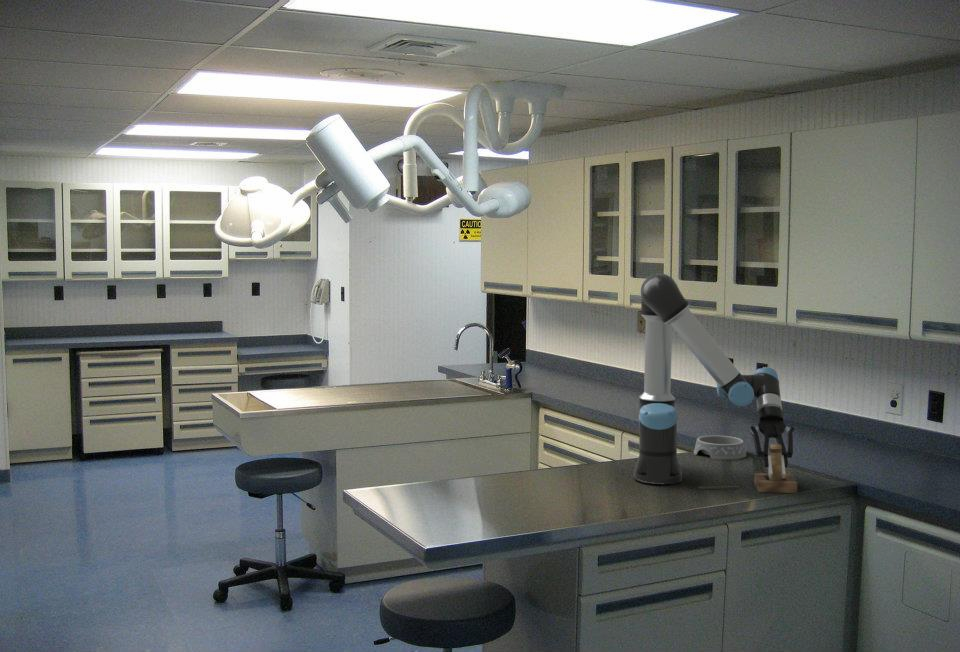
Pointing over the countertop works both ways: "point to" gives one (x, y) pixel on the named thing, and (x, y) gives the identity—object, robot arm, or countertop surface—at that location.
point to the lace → (720, 487)
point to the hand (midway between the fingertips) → (777, 475)
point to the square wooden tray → (775, 483)
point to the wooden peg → (776, 461)
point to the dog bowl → (721, 447)
